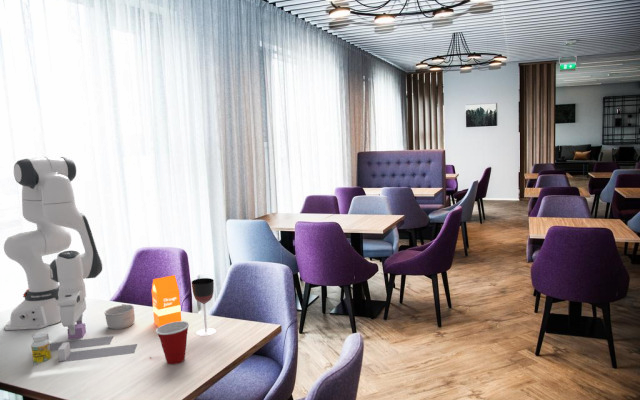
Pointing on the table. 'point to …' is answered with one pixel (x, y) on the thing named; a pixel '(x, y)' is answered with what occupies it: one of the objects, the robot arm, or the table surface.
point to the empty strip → (92, 352)
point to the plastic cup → (173, 340)
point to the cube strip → (82, 343)
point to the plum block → (78, 331)
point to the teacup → (120, 316)
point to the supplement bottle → (40, 348)
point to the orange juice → (166, 300)
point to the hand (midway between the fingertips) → (76, 329)
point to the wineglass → (203, 299)
